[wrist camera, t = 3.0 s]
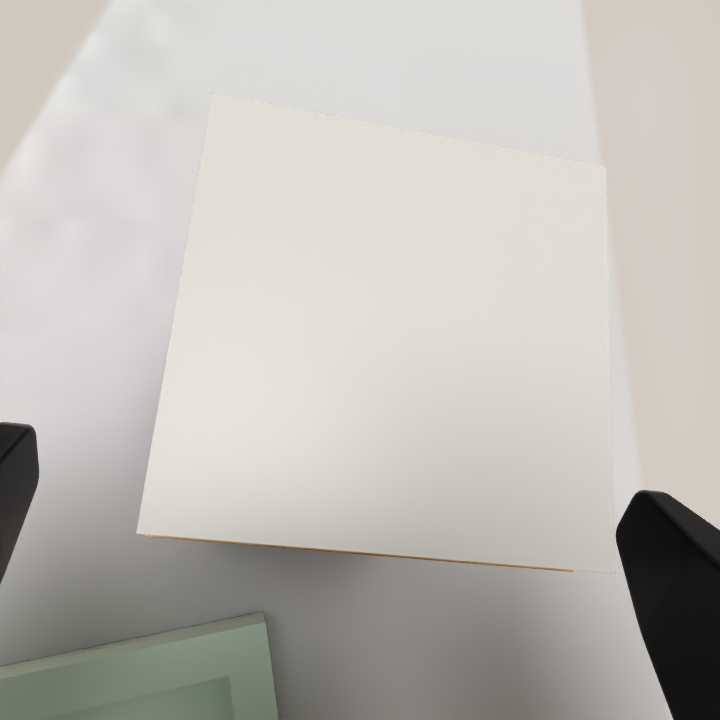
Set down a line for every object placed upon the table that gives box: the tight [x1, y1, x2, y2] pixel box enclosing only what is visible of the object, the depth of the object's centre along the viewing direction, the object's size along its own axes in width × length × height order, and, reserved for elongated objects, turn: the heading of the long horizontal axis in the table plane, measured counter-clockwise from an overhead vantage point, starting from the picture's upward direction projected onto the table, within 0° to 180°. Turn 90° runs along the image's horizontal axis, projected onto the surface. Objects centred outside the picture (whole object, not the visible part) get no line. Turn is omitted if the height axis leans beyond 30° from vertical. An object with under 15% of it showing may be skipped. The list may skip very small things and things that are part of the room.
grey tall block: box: [136, 93, 615, 573], centre depth 13 cm, size 5×5×12 cm
